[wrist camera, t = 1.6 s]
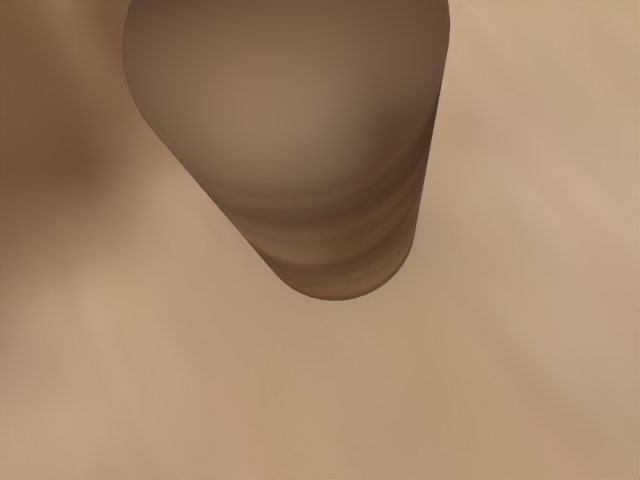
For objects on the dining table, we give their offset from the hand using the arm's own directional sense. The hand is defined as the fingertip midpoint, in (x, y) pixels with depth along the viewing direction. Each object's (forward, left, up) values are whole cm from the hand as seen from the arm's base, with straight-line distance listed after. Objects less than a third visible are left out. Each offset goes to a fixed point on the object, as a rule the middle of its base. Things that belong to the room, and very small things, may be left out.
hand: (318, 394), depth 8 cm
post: (+5, +2, -12) cm, 14 cm away
